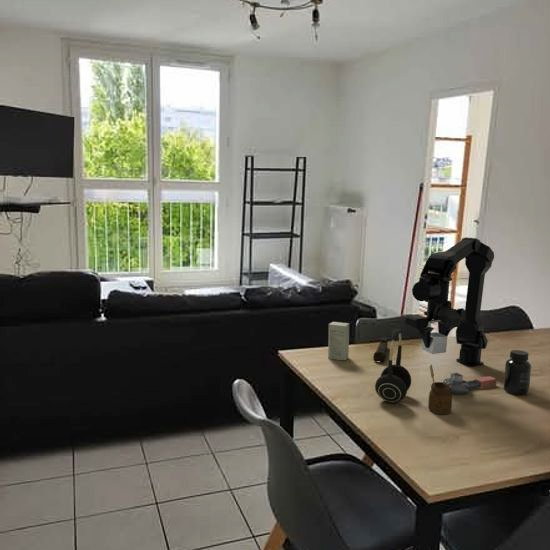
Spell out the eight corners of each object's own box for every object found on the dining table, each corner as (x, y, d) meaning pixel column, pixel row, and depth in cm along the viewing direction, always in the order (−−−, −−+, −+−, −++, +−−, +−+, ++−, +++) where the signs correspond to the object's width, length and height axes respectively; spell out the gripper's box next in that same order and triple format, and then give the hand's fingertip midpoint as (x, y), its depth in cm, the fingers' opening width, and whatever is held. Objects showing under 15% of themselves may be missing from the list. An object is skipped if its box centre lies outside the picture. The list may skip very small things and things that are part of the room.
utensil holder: (448, 417, 135) (451, 373, 133) (423, 411, 138) (427, 368, 136) (453, 409, 140) (457, 366, 138) (430, 403, 143) (433, 361, 141)
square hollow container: (434, 347, 161) (436, 331, 160) (446, 352, 157) (447, 336, 156) (421, 349, 159) (423, 333, 158) (432, 354, 155) (433, 337, 154)
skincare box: (348, 357, 180) (350, 323, 178) (345, 361, 176) (346, 326, 174) (331, 354, 182) (332, 320, 180) (327, 358, 178) (328, 323, 176)
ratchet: (483, 379, 162) (484, 364, 161) (501, 388, 156) (503, 372, 155) (437, 387, 155) (438, 371, 154) (454, 396, 148) (456, 380, 147)
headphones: (371, 405, 141) (375, 334, 138) (382, 386, 155) (386, 321, 151) (403, 411, 138) (408, 338, 135) (412, 391, 151) (417, 325, 148)
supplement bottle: (527, 388, 155) (531, 350, 153) (529, 397, 149) (534, 357, 147) (502, 385, 158) (506, 347, 156) (503, 393, 151) (508, 354, 149)
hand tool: (384, 364, 175) (385, 350, 174) (372, 362, 176) (373, 349, 175) (392, 348, 192) (393, 335, 191) (381, 346, 194) (382, 334, 193)
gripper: (430, 304, 144) (426, 358, 147) (482, 300, 151) (477, 351, 154) (405, 296, 154) (402, 347, 157) (455, 292, 161) (451, 341, 164)
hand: (434, 346), depth 158 cm, fingers closed on square hollow container, 5 cm apart
